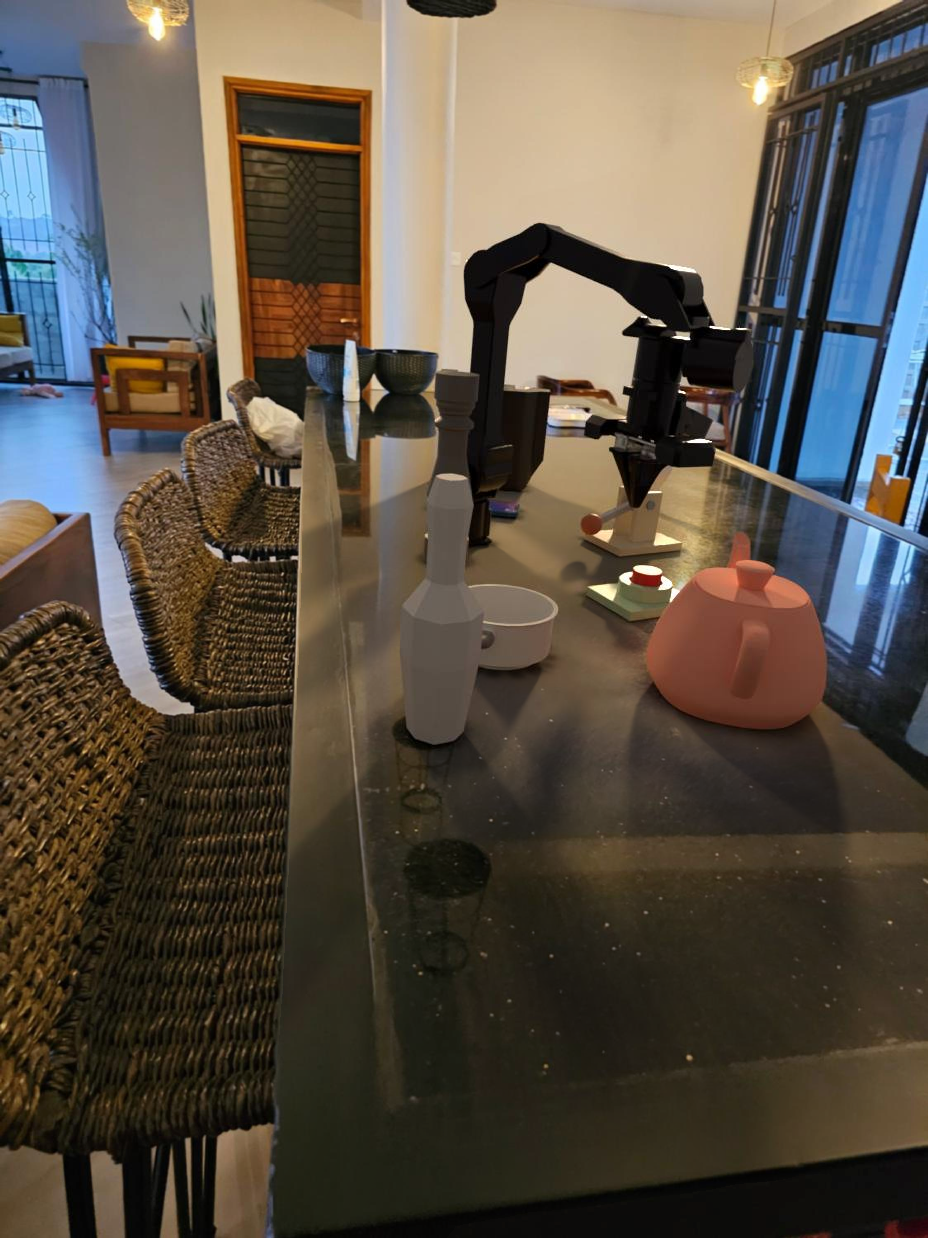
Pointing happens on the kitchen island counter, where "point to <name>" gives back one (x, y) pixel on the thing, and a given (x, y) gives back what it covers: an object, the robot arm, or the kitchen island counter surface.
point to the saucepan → (514, 626)
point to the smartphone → (504, 508)
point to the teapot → (740, 646)
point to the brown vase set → (523, 431)
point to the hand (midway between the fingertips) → (634, 507)
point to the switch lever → (602, 518)
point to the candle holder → (453, 426)
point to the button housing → (634, 597)
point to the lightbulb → (661, 479)
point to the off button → (646, 576)
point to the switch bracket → (636, 529)
